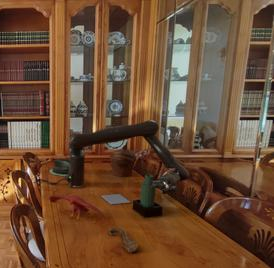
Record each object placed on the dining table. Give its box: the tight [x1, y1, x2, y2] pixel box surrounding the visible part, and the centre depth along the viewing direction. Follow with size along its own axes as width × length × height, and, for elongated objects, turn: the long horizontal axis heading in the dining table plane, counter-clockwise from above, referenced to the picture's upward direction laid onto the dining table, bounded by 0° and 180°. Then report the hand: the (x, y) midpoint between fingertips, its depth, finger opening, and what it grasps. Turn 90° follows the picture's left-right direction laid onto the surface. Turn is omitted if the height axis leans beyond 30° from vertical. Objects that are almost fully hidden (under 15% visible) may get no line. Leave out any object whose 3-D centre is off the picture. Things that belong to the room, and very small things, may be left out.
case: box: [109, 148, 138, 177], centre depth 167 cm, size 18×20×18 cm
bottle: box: [140, 174, 157, 208], centre depth 110 cm, size 6×6×18 cm
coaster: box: [101, 193, 131, 206], centre depth 126 cm, size 11×11×1 cm
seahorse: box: [108, 227, 139, 254], centre depth 89 cm, size 6×15×2 cm, turn 11°
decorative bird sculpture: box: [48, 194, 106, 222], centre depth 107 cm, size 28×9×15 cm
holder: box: [132, 198, 163, 219], centre depth 111 cm, size 9×9×4 cm
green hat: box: [48, 158, 69, 177], centre depth 174 cm, size 15×19×20 cm
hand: (153, 189), depth 114 cm, fingers open, 8 cm apart
